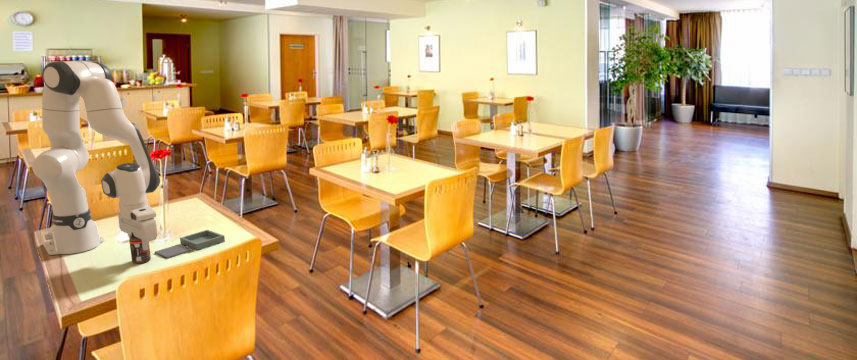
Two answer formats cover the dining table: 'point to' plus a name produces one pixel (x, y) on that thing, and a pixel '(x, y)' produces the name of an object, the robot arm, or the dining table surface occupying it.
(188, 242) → the tray
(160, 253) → the mat
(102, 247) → the dining table surface
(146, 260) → the supplement bottle
